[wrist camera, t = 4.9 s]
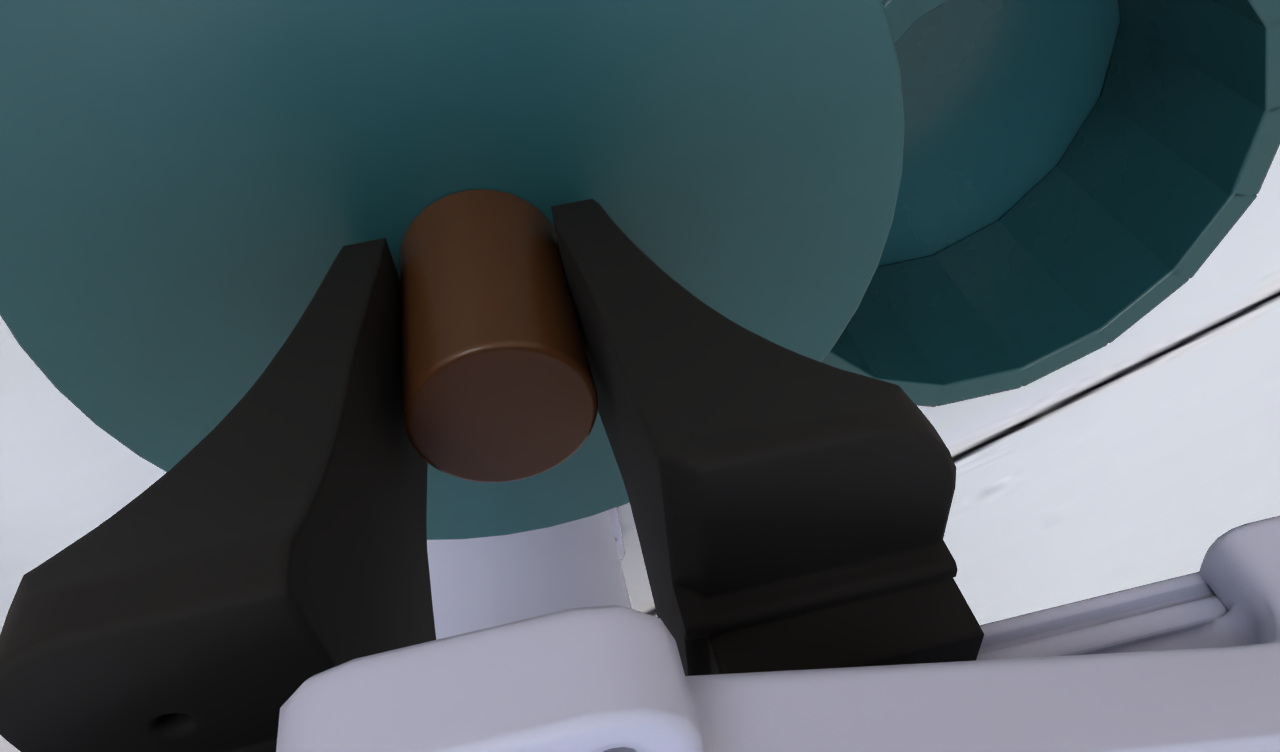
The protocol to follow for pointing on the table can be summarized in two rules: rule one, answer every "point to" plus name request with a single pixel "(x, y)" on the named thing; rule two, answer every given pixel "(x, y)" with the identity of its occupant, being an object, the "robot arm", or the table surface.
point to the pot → (1057, 179)
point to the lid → (429, 202)
